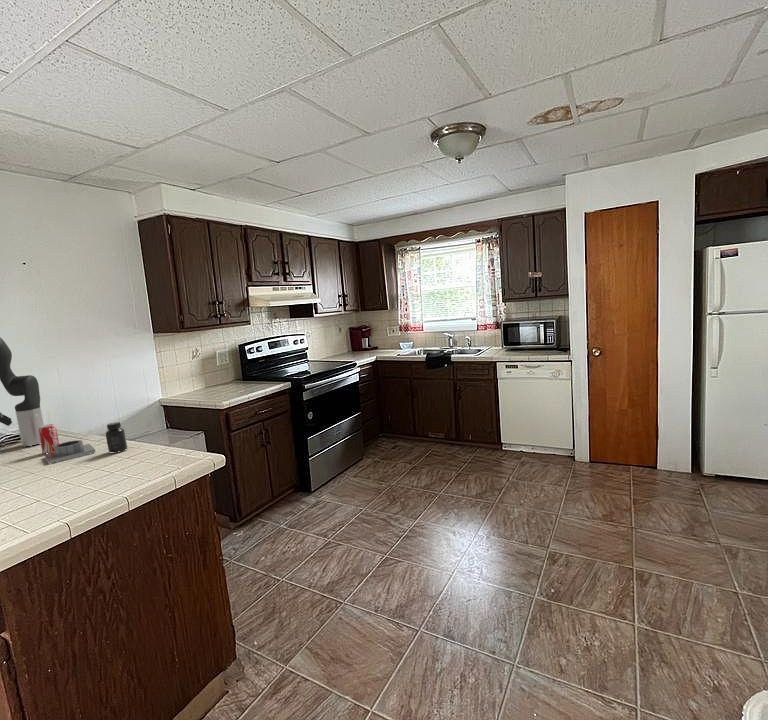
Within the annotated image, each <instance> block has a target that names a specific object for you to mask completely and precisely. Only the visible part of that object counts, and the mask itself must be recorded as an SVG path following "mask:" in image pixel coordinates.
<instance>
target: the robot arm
mask: <svg viewBox="0 0 768 720" xmlns="http://www.w3.org/2000/svg"><path fill="white" fill-rule="evenodd" d="M12 355H13V353H12V351H11V349H10V348H9V346H8V344H7V343H6V342H5V340H4V339H3V338H2V337H0V382H1V384H2V386H3V387H4V389H5V391H6V392H7V394H9V395H10V396H12V397H21V396H22V397H23V396H24V397H23V398H24V399H23V401H21V402H19V403H17V404H15V405H14V410H15V416H16V421H17V425H18V429H19V436H20V439H21V445H22V447H23V446H30V445H36V444H40V437H39V432H38V430H39V427H41V426H44V425H45V424H44V419H43V413H42V409H41V393H40V385H39V381H38V379H37V377H36V376H34V375H20V376H16V375H15V373H14V372H13V370H12V368H11V364H12V363H11V362H12V358H13V357H12ZM0 423H1V424H3V425H5V426H8V427H9V426H10V425H12V423H13V420H12V417H9V416H7V415H5V414H3V413H2V412H1V411H0ZM40 445H41V444H40ZM36 446H37V445H36Z"/></svg>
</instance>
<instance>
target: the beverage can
mask: <svg viewBox="0 0 768 720" xmlns="http://www.w3.org/2000/svg"><path fill="white" fill-rule="evenodd" d="M38 432H39V437H40V443H41V444H40V447H41V452H42V453H43V454H45V453H52V452H55V450H54V446H56V445H58V444H60V441H59V436H58V430H57V427H56V426H55V424H53V423H52V424H50V423H49V424H44V426H41V427H39V430H38Z"/></svg>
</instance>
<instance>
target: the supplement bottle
mask: <svg viewBox="0 0 768 720" xmlns="http://www.w3.org/2000/svg"><path fill="white" fill-rule="evenodd" d="M106 428H107V430H106V432H105V438H106V439H105V440H106V445H107V450H108V453H109V452H118V451H123V450H125V449H127V450H128V444H127V439H126V437H127V436H126V432H125V428H122V425H121V421H118V422H117V421H116V422H112V423H110V422H109V423H107V424H106ZM125 451H126V450H125ZM123 452H124V451H123Z"/></svg>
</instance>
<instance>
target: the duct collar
mask: <svg viewBox="0 0 768 720" xmlns="http://www.w3.org/2000/svg"><path fill="white" fill-rule="evenodd" d="M54 450H55V452H52V453H48V454H45V453H43V454H44V459H45V458H46V459H45V461H46V460H47V461H46V463H47V462H48V463H47V465H48V464H49V465H51V464H50V463H53V464H55V463H54V462H57V461H61V462H63V461H62V460H65V461H67V460H66V459H69V460H72V459H71V458H73V459H76V458H75V457H77V458H80V457H79V456H81V457H84V456H83V455H85V456H87V455H86V454H89V455H91V454H90V453H93V454H95V453H94V452H96V449H95V448H94V447H93V446H92V445H91V444H90V443H87V444H86V443H85V444H84V443H83V440H81V439H80V440H79V439H77V440H71V441H70V440H69V441H64V442H61V443H59V444H58V445H56V446H54ZM57 463H58V462H57Z"/></svg>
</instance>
